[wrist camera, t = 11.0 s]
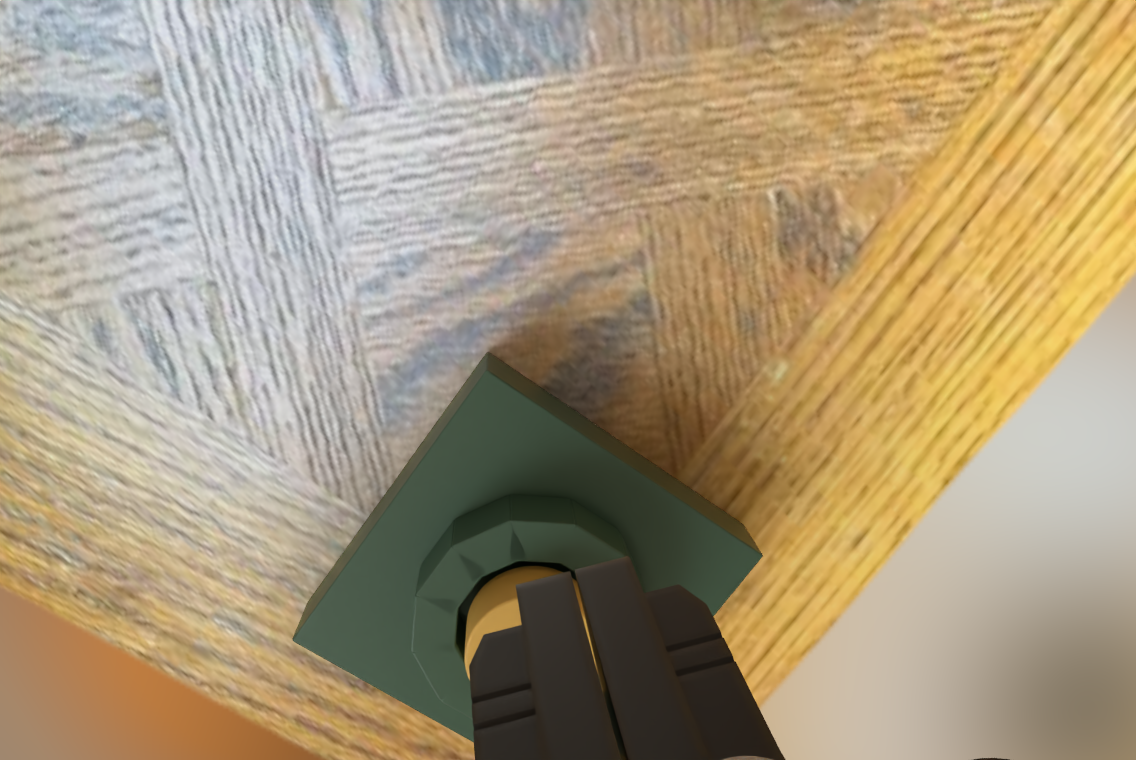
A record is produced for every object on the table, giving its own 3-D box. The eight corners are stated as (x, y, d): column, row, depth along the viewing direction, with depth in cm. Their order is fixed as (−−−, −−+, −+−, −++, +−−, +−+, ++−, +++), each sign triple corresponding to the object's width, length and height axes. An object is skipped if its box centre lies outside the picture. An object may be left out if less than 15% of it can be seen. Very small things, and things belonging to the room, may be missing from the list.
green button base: (562, 749, 30) (571, 838, 26) (306, 603, 28) (276, 677, 24) (744, 524, 28) (783, 585, 24) (487, 351, 26) (485, 387, 22)
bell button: (546, 700, 25) (549, 740, 24) (440, 639, 25) (437, 676, 23) (620, 607, 25) (630, 641, 23) (516, 540, 24) (517, 571, 22)
